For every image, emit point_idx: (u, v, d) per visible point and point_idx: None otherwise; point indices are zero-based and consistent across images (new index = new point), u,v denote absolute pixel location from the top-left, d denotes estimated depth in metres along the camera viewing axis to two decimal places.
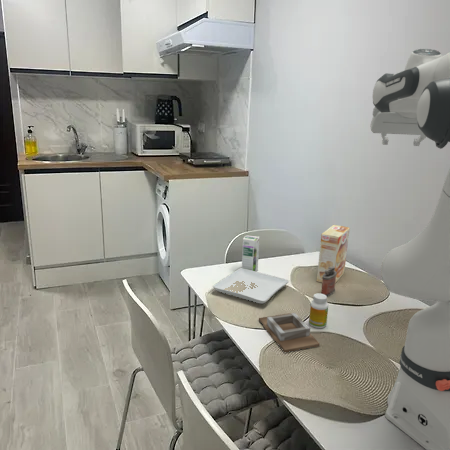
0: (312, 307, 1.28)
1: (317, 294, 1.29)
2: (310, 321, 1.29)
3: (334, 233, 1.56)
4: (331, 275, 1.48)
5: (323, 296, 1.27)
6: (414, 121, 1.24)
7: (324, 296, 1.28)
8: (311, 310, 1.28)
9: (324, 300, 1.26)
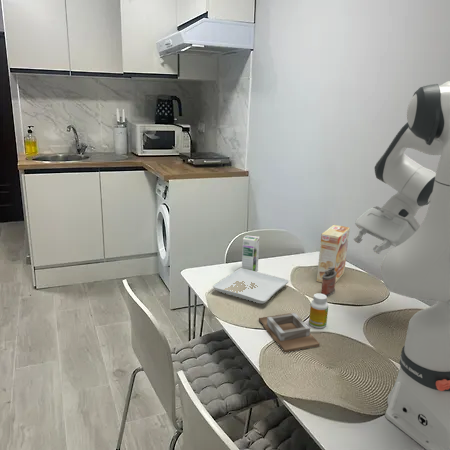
0: (312, 307, 1.28)
1: (317, 294, 1.29)
2: (310, 321, 1.29)
3: (334, 233, 1.56)
4: (331, 275, 1.48)
5: (323, 296, 1.27)
6: (387, 223, 1.26)
7: (324, 296, 1.28)
8: (311, 310, 1.28)
9: (324, 300, 1.26)
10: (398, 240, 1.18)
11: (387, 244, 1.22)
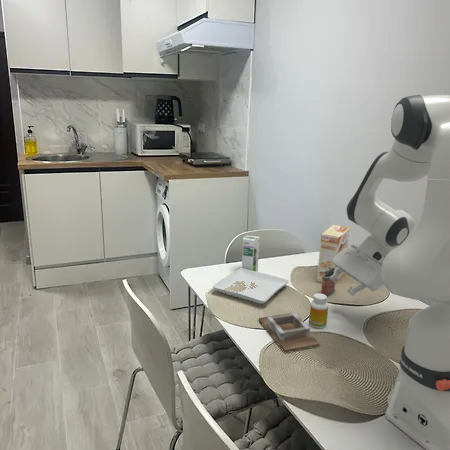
0: (312, 307, 1.28)
1: (317, 294, 1.29)
2: (310, 321, 1.29)
3: (334, 233, 1.56)
4: (331, 275, 1.48)
5: (323, 296, 1.27)
6: (362, 264, 1.27)
7: (324, 296, 1.28)
8: (311, 310, 1.28)
9: (324, 300, 1.26)
10: (371, 284, 1.20)
11: (361, 286, 1.24)
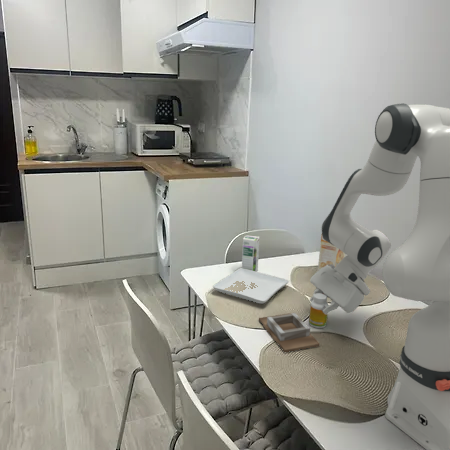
0: (312, 307, 1.28)
1: (317, 294, 1.29)
2: (310, 321, 1.29)
3: None
4: None
5: (323, 296, 1.27)
6: (338, 285, 1.27)
7: (324, 296, 1.28)
8: (311, 310, 1.28)
9: (324, 300, 1.26)
10: (346, 306, 1.19)
11: (334, 306, 1.24)
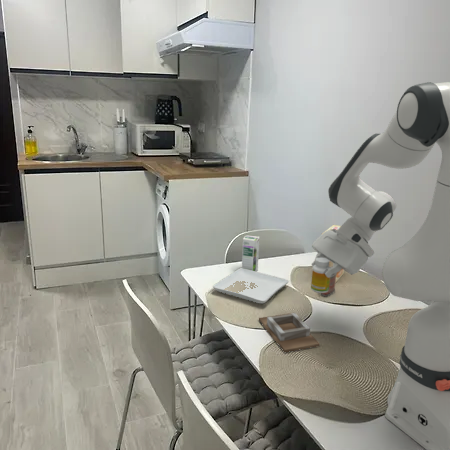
0: (314, 271, 1.24)
1: (319, 258, 1.25)
2: (312, 286, 1.25)
3: None
4: (331, 275, 1.48)
5: (325, 260, 1.23)
6: (341, 247, 1.23)
7: (326, 260, 1.24)
8: (313, 274, 1.24)
9: (326, 263, 1.22)
10: (350, 266, 1.15)
11: (337, 268, 1.20)
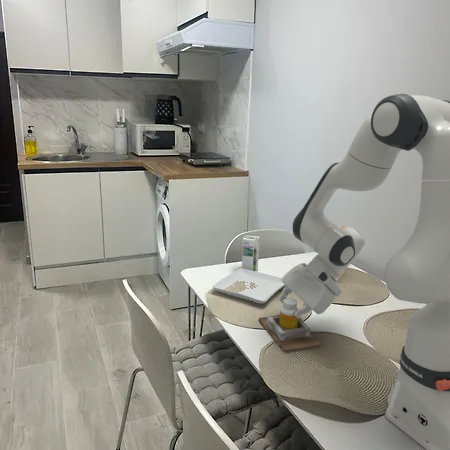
0: (281, 313, 1.22)
1: (287, 299, 1.23)
2: (280, 327, 1.24)
3: None
4: None
5: (293, 301, 1.22)
6: (309, 284, 1.20)
7: (294, 301, 1.22)
8: (281, 316, 1.22)
9: (294, 305, 1.20)
10: (316, 307, 1.13)
11: (306, 309, 1.17)
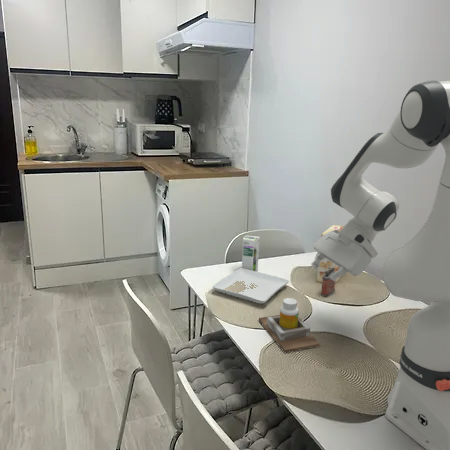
0: (281, 312, 1.22)
1: (287, 299, 1.23)
2: (280, 327, 1.24)
3: None
4: None
5: (293, 301, 1.22)
6: (344, 248, 1.21)
7: (294, 301, 1.22)
8: (280, 316, 1.23)
9: (294, 305, 1.21)
10: (353, 267, 1.13)
11: (343, 271, 1.17)
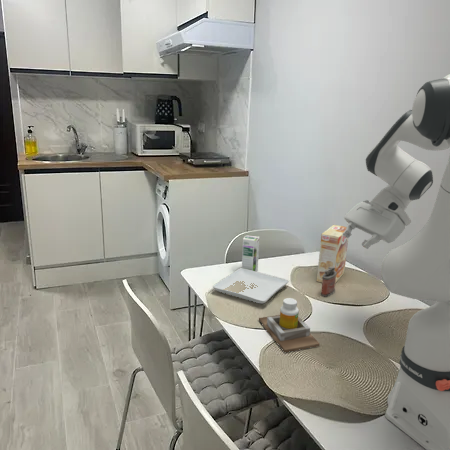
0: (281, 313, 1.22)
1: (287, 299, 1.23)
2: (280, 327, 1.24)
3: (334, 233, 1.56)
4: (331, 275, 1.48)
5: (293, 301, 1.22)
6: (376, 216, 1.21)
7: (294, 301, 1.22)
8: (281, 316, 1.23)
9: (294, 305, 1.21)
10: (388, 234, 1.14)
11: (376, 238, 1.18)
